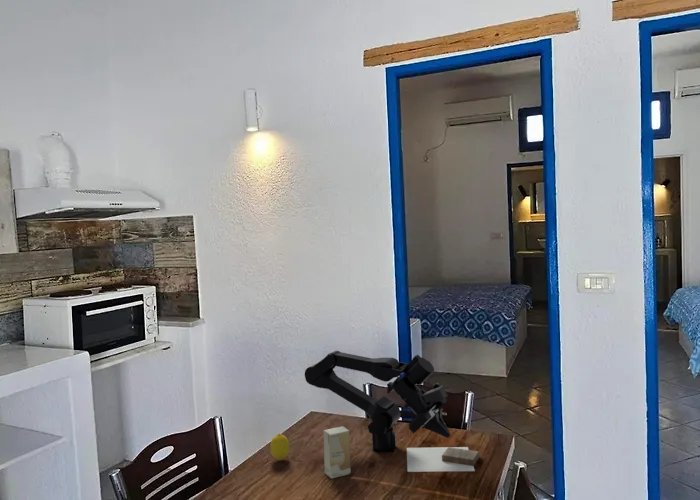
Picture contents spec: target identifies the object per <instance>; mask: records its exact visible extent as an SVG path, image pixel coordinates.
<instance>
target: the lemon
mask: <svg viewBox="0 0 700 500" xmlns="http://www.w3.org/2000/svg"><path fill="white" fill-rule="evenodd" d="M270 441H271V442H270V454H271V455H272V457H273V458H275V459H277V460H279V462H280V461H282V460H283V459H285V458H286V457H287V456H288V454H289V451H290V442H289V440H288V437H287V436H285V435H284V434H281V433H277V434H276V435H275V436H273V437H272V439H271V440H270Z"/></svg>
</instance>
